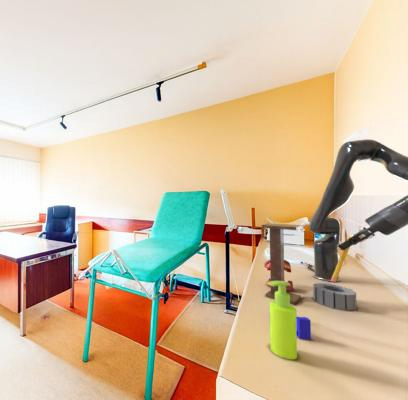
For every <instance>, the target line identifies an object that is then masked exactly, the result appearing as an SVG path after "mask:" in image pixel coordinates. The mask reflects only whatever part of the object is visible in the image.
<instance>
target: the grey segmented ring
mask: <svg viewBox="0 0 408 400" xmlns="http://www.w3.org/2000/svg"><path fill="white" fill-rule="evenodd" d="M312 292H313V293H312V294H313V295H312V297H313V300H314V301H315V302H316V303H318V304H320V305H322V306H323V305H324V306H325V307H328V308H331V309H336V310H341V311H355V310H356V309H357V292H356V291H354V290H353V289H351V288H348V287H345V286H342V285H337V284H332V283H326V282H324V283H323V282H315V283H313V285H312Z"/></svg>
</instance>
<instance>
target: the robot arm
mask: <svg viewBox="0 0 408 400" xmlns="http://www.w3.org/2000/svg"><path fill="white" fill-rule="evenodd" d="M335 158H336V159H335V161H334V165H333V169H332V173H331V175H330V178H329V180H328V183H327V184H326V187H325V189H324V191H323V193H322V197H321V200H320V202H319V204H318V205H317V206H318V207H317V209H315V212H314V213H313V215H312V217H311V218H310V220H309V223H308V228H309V231H310V232H311V233H312V234H315V235H324V236H323V237H321V238H319V239H315V240H314V241H313V260H314V261H313V262H314V264H313V265H314V266H313V265H312V264H311V263H309V264H307V265H308V266H307V268H308V269H309V270H310V271H312V272H314V275H313V276H314V278H316V279H318V280H320V281H321V280H322V281H326V282H332V281H331V278H332V276H333V274H334V271H335V269H336V266H337V264H338V261H339V259H340V256H339V249H340V250H342V251H343V250H345V249H347V248H348V247H350V248H351V247H352V246H355V245H357V244H359V243H363V242H365V241H367V240H369V239H372V238H374V237H375V236H376V234H375V233H377V232H379V233H380V234H382V235H384V236H390V235H392V234H393V233H395V232H397V231H399V230H401V229H403V228H405V227H406V226H408V194H407V195H405V196H403V197H402V198H400V199H398V200H396V201H395V202H393V203H391V204H390V205H387V206H385V207H383V208H382V209H380V210H378V211H377V212H375V213H374V214H371V215H370V216H369V217H367V218H365V219H364V222H365V223H366V224H367V225H369V226H368V227H365V226H363V227H362V228H360V229H359V230H358V231H356V232H355V233H353V234H352V235H351V238H349V239H348V238H347V239H346V240H344V241H343V242H341V223H340V221H339V219H337V218H336V217H334V216H333V217H332V216H330V215H331V214H332V213H333V212H335V211H337V210H338V209H340V208H341V207H343V206H344V205H345V204H346V203H348V201H350V199H351V197H352V196H353V195H352V194H353V192H354V191H355V184H354V181H353V179H352V176H351V171H352V168H353V166H354V165H355V163H356V162H365V161H372V162H376V163H380V164H382V165H383V166H384V168H385V170H386V171H387V172H388V173H389V174H391V175H392V176H395V177H397V178H399V179H401V180H403V181H406V182H408V156H407V155H404V154H403V153H400V152H398V151H396V150H394V149H392V148H390V147H388V146H387V145H385V144H383V143H381V142H379V141H377V140H375V139H372V138H371V139H370V138H369V139H368V138H366V139H365V138H364V139H358V140H350V141H346V142H344V143H343V144H342V145H340V148H339V149H338V152H337V155H336V157H335ZM340 242H341V243H340ZM300 264H304V263H303V262H302V261H300ZM310 264H311V265H310ZM311 267H314V268H311ZM337 282H340V274H339V275H338V277H337V280H336V282H335V283H337Z"/></svg>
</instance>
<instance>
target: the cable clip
mask: <svg viewBox="0 0 408 400" xmlns="http://www.w3.org/2000/svg"><path fill="white" fill-rule="evenodd" d="M311 324H312V323H311V319H310V318H309V317H305V316H296V328H297V338H299V339H301V340H312V327H311V326H312V325H311Z"/></svg>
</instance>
